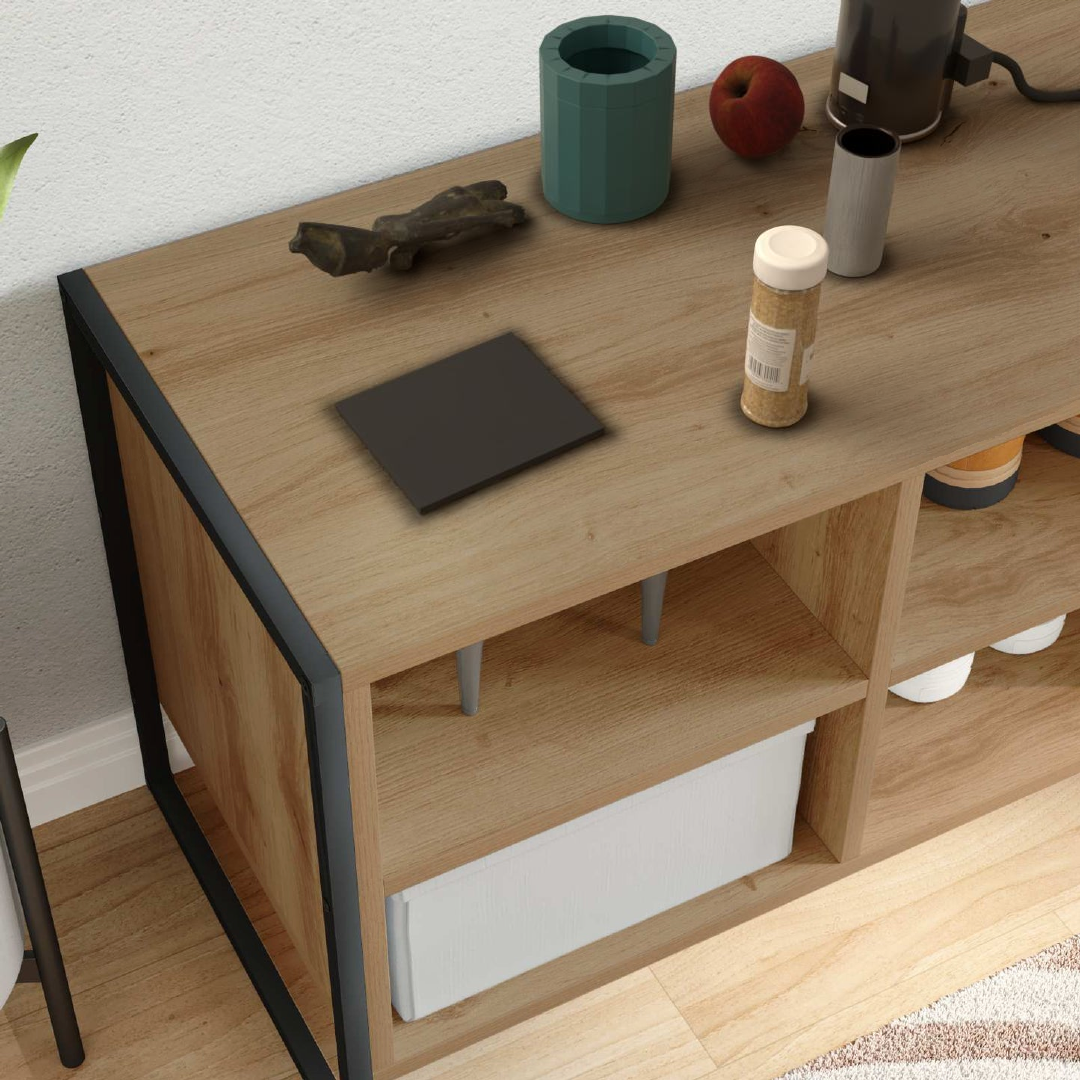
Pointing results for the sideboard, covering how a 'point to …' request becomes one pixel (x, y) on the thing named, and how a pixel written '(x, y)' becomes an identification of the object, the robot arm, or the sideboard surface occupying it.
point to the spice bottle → (783, 324)
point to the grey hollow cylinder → (860, 197)
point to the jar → (606, 117)
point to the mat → (467, 421)
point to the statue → (405, 230)
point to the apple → (756, 106)
